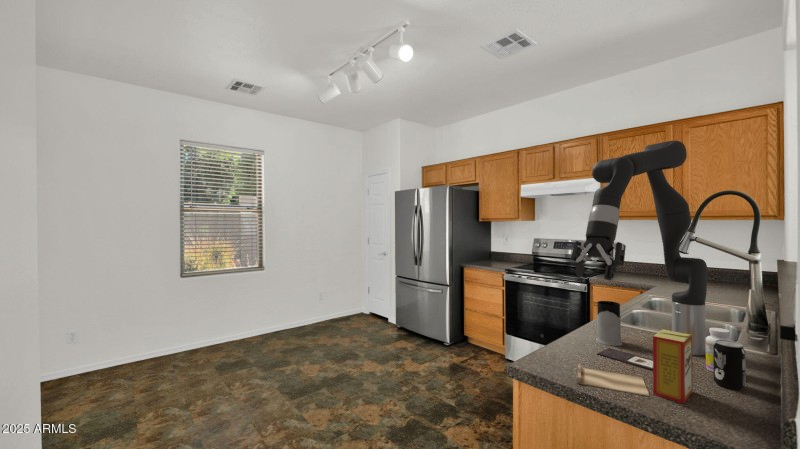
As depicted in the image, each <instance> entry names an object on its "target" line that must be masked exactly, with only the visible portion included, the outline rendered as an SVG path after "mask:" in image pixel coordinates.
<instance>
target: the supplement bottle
mask: <svg viewBox="0 0 800 449" xmlns="http://www.w3.org/2000/svg"><path fill="white" fill-rule="evenodd" d="M709 333H710V335H708V336H706V354H705V367H706V370H708V371H709V372H712V373H714V362H713V346H714V344H715V343H716V342H715V341H716V340H729V341H734V340H733V339H732V338H730V335H731V331H730V330H729V329H727V328H726V329H725V328H720V327H709Z"/></svg>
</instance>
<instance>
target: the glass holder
mask: <svg viewBox="0 0 800 449" xmlns="http://www.w3.org/2000/svg"><path fill="white" fill-rule="evenodd" d="M596 306H597V313H596V333H597V334H596V339H595V341H596V342H597V343H599V344H601V343H602V344H601V345H605V344H606V345H605V346H611V345H612V347H618V346H622V345H623V343H622V339H621V338H622V337H621V336H622V335H621V334H622V332H621V331H622V330H621V328H622V327H621V324H622V322H621V321H622V320H621V318H622V317H621V316H622V315H621V304H620V303H619V302H617V301H610V300H598V301H597V305H596Z"/></svg>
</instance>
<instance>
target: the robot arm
mask: <svg viewBox="0 0 800 449" xmlns="http://www.w3.org/2000/svg"><path fill="white" fill-rule="evenodd" d="M687 154H688V153H687V149H686V146H685V144H684V143H683V142H682V141H679V140H668V141H663V142H657V143H653V144H649V145H646V146H645V147H644V149H643V151H638V152H637V151H636V152H633V153H629V154H625V155H622V156H618V157H613V158H608V159H607V158H606V159H602V160H599V161H597V162H595V163H594V165H593V167H592V170H591V176H592V178H593V179H594V181H596V182H597V183H600V184H606V185H604V186H603V187H599V188H597V189H596V190H595V192H594V195H593V200H592V204H591V209H590V211H589V215H588V221H587V227H586V232H585V241H584V242H583V241H578V240H576V241H575V242H574V244H573V248H572V252H571V256H570V259H571V261H574V262H575V263H576V266H575V269H574V270H575V272H574V273H575V275H576V276H577V277H580V278H582V277H584V271H585V264H586V263H587V261H589V260H592V258H594V259H597V258H600V259H603V260H604V261H605V263H606V264H607V265H605V272H604V277H603V278H604V280H606V281H612V280H613V278H614V276H615V271H616V268H617V267H620V266H624V264H625V256H626V247H627V246H626V245H625V244H624V243H622V242H620V241H617V242H616V243H615V241H616V237H617V232H618V226H619V220H620V208H621V203H622V198H623V196H624V193H625V191H626V190H627V188H628V186H629V184H630V181H631V180H632V177H636V176H639V175H642V174H646V175H647V179H648V182H649V185H650V189H651V192H652V197H653V202H654V207H655V212H656V213H655V214H656V218H657V223H658V226H659V232H660V235H661V242H662V249H663V260H664V266H665V267H664V270H665V274H666V276H667V278H668V279H669V281H671V282H674V283H681V284H688V285H689V286H688V288H687V289H686V290H683V291H682V290H681V291H676V292H673V293H672V295H671V331H676V332H681V333H687V334H692V356H704V355H705V356H706V337H707V336H706V298H707V292H708V291H707V288H708V287H707V284H708V265H707V263H706V261H705V260H704V259H702V258H698V257H684V256H683V257H682V256H681V254H680V245H681V241H682V240H683V238H684V237H685V236H686V234H687V232H688V230H689V228H690V227H691V225H692V217H691V211H690V207H689V203H688V202H687V200H686V199H685V198H684V197H683V196H682V195H681V193H679V192H678V191H677V190H676V189H675V188H673V186H671V184H670V183H669V182H668V180H667V178H666V176H665V174H664V171H665V170H671V169H675V168H679V167H681V166H683V165H684V164H685V162H686V160H687ZM613 250H614V256H613V254H612V253H611V252H612V251H613Z"/></svg>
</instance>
